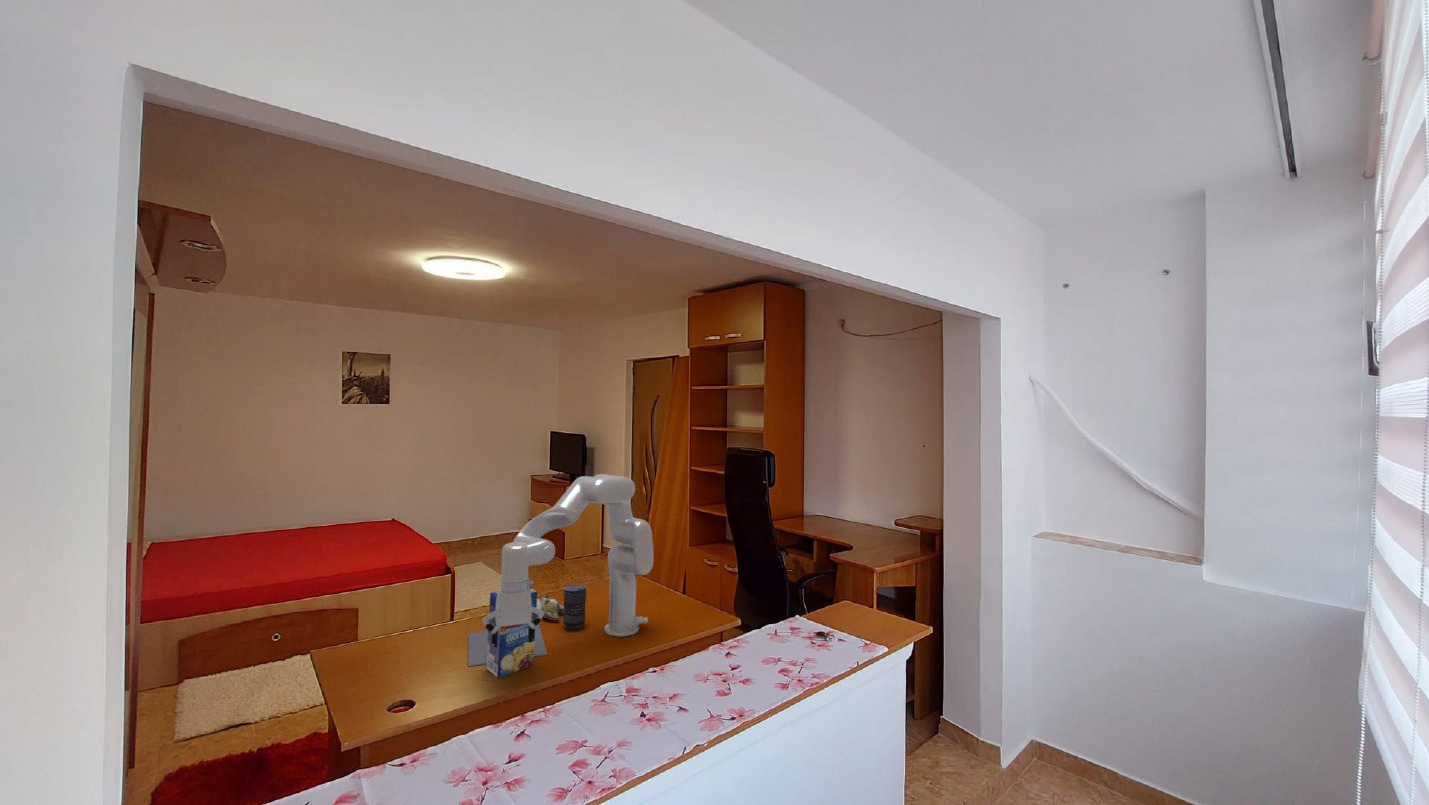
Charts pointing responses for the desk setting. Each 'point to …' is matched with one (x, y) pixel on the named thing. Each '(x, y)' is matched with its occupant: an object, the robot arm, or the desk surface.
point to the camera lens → (574, 607)
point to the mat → (480, 641)
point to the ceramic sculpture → (550, 608)
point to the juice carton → (510, 644)
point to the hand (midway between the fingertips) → (512, 643)
